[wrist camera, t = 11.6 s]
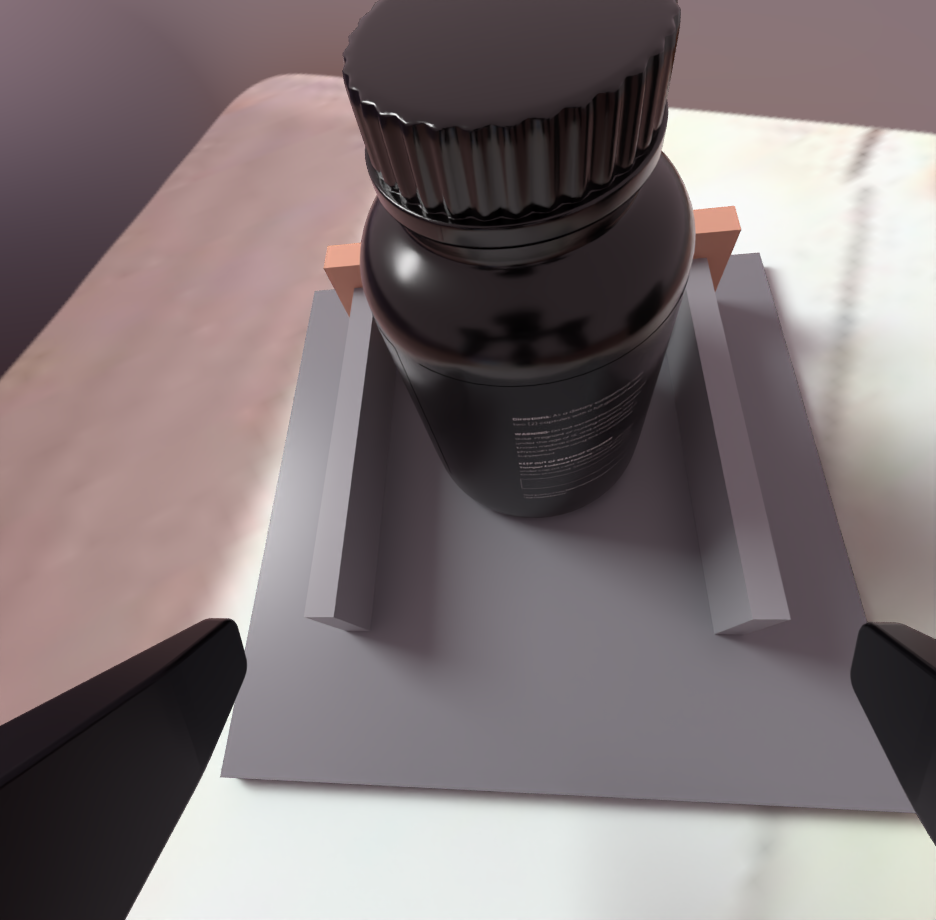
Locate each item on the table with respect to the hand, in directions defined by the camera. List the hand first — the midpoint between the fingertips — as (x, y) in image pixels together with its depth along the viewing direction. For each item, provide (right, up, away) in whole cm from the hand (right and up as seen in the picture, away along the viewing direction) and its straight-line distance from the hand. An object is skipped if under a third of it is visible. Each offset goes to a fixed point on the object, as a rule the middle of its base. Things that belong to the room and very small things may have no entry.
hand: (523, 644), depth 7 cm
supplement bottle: (+1, +4, +11) cm, 11 cm away
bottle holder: (+1, +2, +10) cm, 10 cm away
